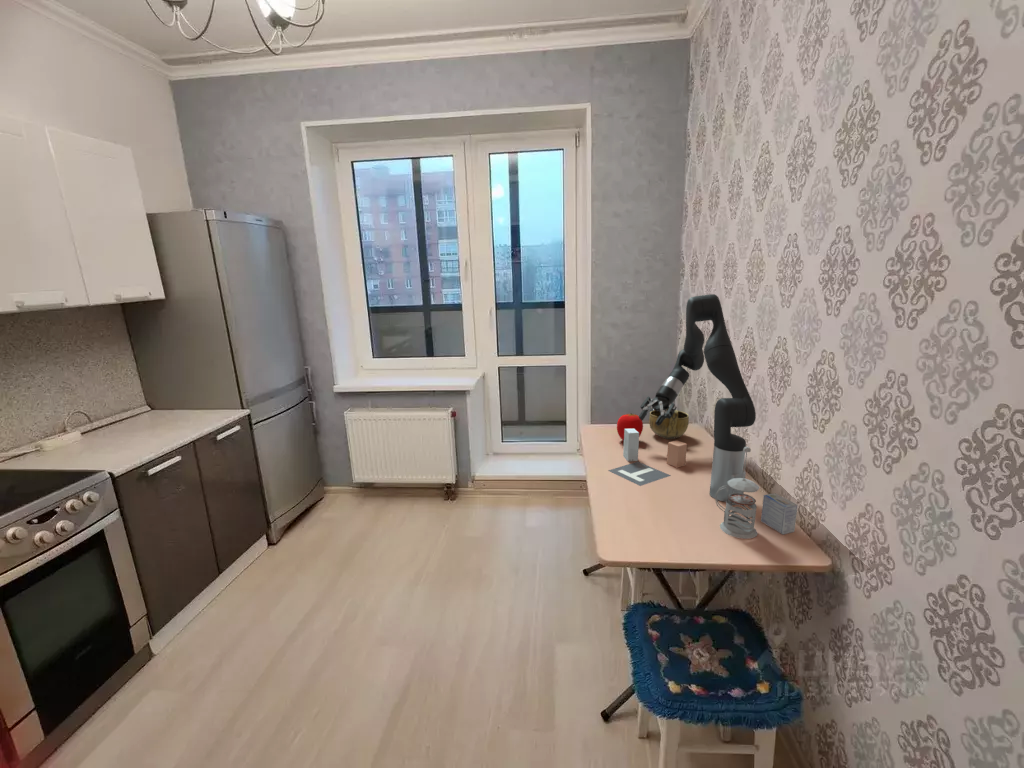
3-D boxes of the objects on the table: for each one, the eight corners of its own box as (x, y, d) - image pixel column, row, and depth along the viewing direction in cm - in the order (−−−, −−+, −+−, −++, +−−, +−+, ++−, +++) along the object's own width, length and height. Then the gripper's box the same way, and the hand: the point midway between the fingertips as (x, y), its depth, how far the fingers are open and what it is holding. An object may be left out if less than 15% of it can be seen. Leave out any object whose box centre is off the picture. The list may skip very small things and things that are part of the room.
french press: (756, 542, 127) (767, 455, 121) (711, 531, 133) (718, 448, 127) (758, 525, 135) (768, 444, 130) (715, 516, 141) (722, 437, 135)
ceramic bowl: (691, 446, 199) (694, 412, 196) (650, 444, 202) (652, 410, 199) (682, 430, 221) (685, 399, 218) (645, 428, 224) (647, 398, 221)
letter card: (671, 476, 169) (671, 475, 169) (640, 487, 161) (640, 485, 161) (637, 462, 183) (637, 461, 182) (607, 471, 174) (607, 470, 174)
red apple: (619, 446, 201) (620, 417, 198) (613, 437, 211) (615, 410, 208) (645, 445, 201) (647, 417, 198) (638, 437, 211) (640, 410, 208)
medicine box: (794, 532, 132) (798, 504, 130) (782, 535, 130) (785, 506, 128) (772, 519, 139) (775, 492, 137) (760, 521, 138) (763, 494, 136)
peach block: (685, 466, 179) (686, 443, 177) (676, 468, 176) (678, 446, 174) (675, 462, 183) (676, 440, 181) (666, 464, 180) (668, 442, 178)
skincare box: (638, 462, 183) (639, 432, 180) (627, 462, 183) (628, 433, 180) (633, 456, 189) (634, 428, 186) (622, 456, 189) (623, 428, 186)
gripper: (651, 381, 195) (630, 412, 191) (680, 388, 183) (658, 421, 180) (659, 392, 199) (639, 422, 195) (688, 399, 187) (666, 431, 184)
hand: (648, 421), depth 188 cm, fingers open, 8 cm apart
